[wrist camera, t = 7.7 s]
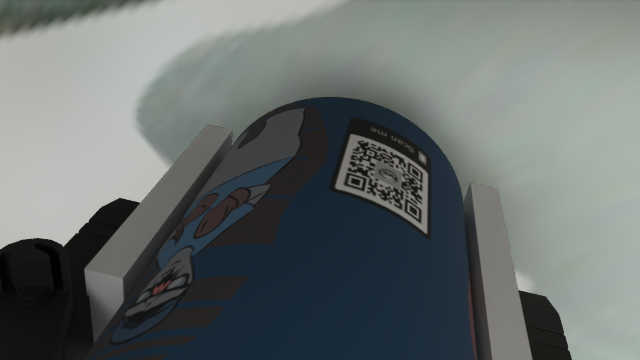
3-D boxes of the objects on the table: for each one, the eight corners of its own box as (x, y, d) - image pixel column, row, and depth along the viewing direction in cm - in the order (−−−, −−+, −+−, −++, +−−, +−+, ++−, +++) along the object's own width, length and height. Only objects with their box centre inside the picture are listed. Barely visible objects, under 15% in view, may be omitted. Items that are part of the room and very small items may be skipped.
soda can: (387, 307, 18) (333, 850, 8) (204, 216, 18) (-94, 682, 8) (510, 153, 15) (684, 784, 5) (287, 33, 14) (-70, 457, 4)
